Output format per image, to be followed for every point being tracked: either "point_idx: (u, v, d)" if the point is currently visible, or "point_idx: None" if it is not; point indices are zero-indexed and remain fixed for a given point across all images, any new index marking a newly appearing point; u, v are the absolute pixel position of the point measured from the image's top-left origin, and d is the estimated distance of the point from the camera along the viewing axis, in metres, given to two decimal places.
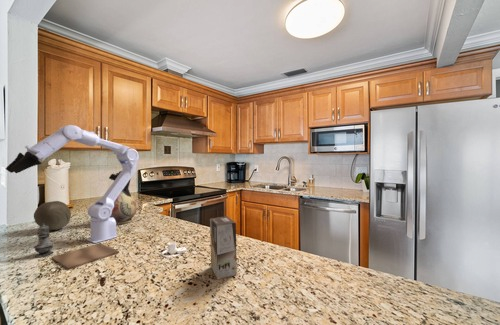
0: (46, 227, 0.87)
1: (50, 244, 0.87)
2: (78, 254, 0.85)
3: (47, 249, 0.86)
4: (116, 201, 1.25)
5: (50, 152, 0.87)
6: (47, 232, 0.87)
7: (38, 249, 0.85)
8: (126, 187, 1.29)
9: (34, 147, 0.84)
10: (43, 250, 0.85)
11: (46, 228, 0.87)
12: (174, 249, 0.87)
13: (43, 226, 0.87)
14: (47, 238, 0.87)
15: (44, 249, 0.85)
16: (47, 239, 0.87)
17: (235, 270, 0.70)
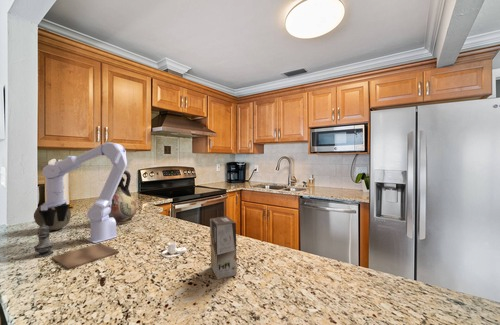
0: (46, 227, 0.87)
1: (50, 244, 0.87)
2: (78, 254, 0.85)
3: (47, 249, 0.86)
4: (116, 201, 1.25)
5: (56, 196, 0.98)
6: (47, 232, 0.87)
7: (38, 249, 0.85)
8: (126, 187, 1.29)
9: (46, 201, 0.97)
10: (43, 250, 0.85)
11: (46, 228, 0.87)
12: (174, 249, 0.86)
13: (43, 226, 0.87)
14: (47, 238, 0.87)
15: (44, 249, 0.85)
16: (47, 239, 0.87)
17: (235, 270, 0.70)
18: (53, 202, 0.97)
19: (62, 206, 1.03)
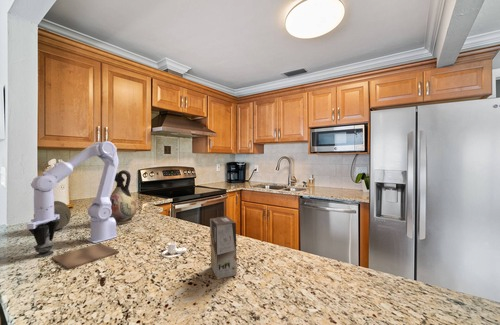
0: None
1: (50, 244, 0.87)
2: (78, 254, 0.85)
3: (47, 249, 0.86)
4: (116, 201, 1.25)
5: (46, 211, 0.86)
6: (47, 232, 0.87)
7: (38, 249, 0.85)
8: (126, 187, 1.29)
9: (34, 217, 0.85)
10: (43, 250, 0.85)
11: None
12: (174, 249, 0.86)
13: None
14: (47, 238, 0.87)
15: (44, 249, 0.85)
16: (48, 239, 0.87)
17: (235, 270, 0.70)
18: (42, 219, 0.85)
19: (50, 223, 0.90)
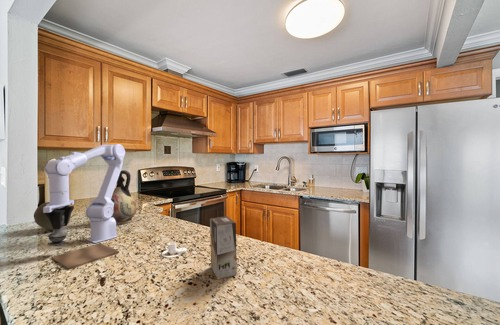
0: None
1: (64, 234, 0.87)
2: (78, 254, 0.85)
3: (60, 239, 0.86)
4: (116, 201, 1.25)
5: (61, 196, 0.85)
6: (62, 221, 0.87)
7: (52, 238, 0.84)
8: (126, 187, 1.29)
9: None
10: (57, 239, 0.85)
11: (62, 217, 0.86)
12: (174, 249, 0.86)
13: None
14: (62, 228, 0.87)
15: (58, 238, 0.85)
16: (62, 229, 0.87)
17: (235, 270, 0.70)
18: (57, 203, 0.84)
19: (65, 208, 0.89)
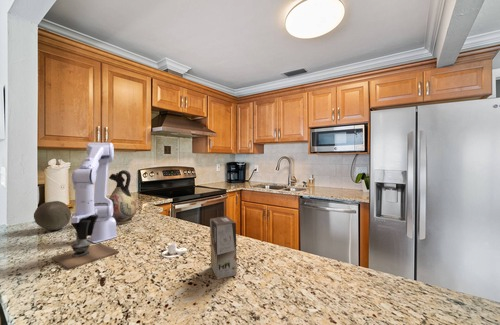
0: None
1: (87, 244, 0.85)
2: None
3: (84, 249, 0.84)
4: (116, 201, 1.25)
5: (87, 205, 0.84)
6: None
7: (76, 248, 0.83)
8: (126, 187, 1.29)
9: None
10: (81, 250, 0.83)
11: None
12: (174, 249, 0.86)
13: None
14: None
15: (82, 249, 0.83)
16: None
17: (235, 270, 0.70)
18: (84, 213, 0.83)
19: (89, 218, 0.88)
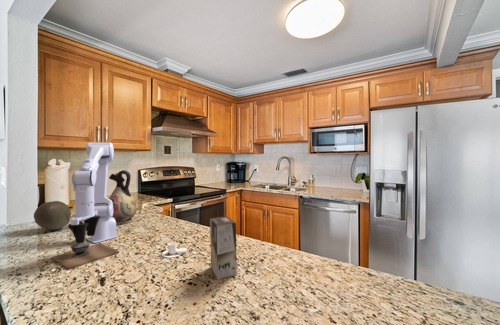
0: None
1: (86, 244, 0.85)
2: None
3: (84, 249, 0.84)
4: (116, 201, 1.25)
5: (87, 207, 0.84)
6: None
7: (75, 249, 0.83)
8: (126, 187, 1.29)
9: None
10: (80, 250, 0.83)
11: None
12: (174, 249, 0.86)
13: None
14: None
15: (81, 249, 0.83)
16: None
17: (235, 270, 0.70)
18: (84, 214, 0.83)
19: (92, 218, 0.89)
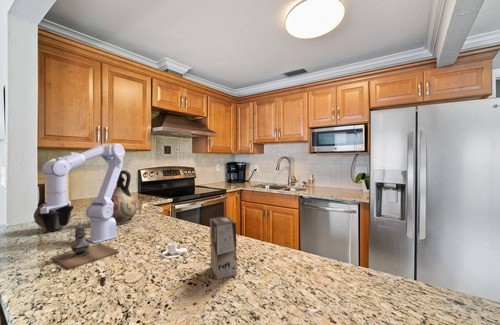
0: (82, 226, 0.85)
1: (86, 244, 0.85)
2: None
3: (84, 249, 0.84)
4: (116, 201, 1.25)
5: (58, 196, 0.85)
6: (83, 231, 0.85)
7: (75, 249, 0.83)
8: (126, 187, 1.29)
9: None
10: (80, 250, 0.83)
11: (82, 227, 0.85)
12: (174, 250, 0.86)
13: (79, 225, 0.85)
14: (83, 238, 0.85)
15: (81, 249, 0.83)
16: (84, 239, 0.85)
17: (235, 270, 0.70)
18: (54, 204, 0.84)
19: (64, 208, 0.90)
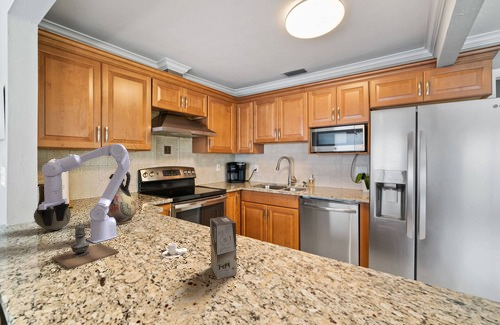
0: (82, 226, 0.85)
1: (86, 244, 0.85)
2: None
3: (84, 249, 0.84)
4: (116, 201, 1.25)
5: (55, 195, 0.94)
6: (83, 231, 0.85)
7: (75, 249, 0.83)
8: (126, 187, 1.29)
9: None
10: (80, 250, 0.83)
11: (82, 227, 0.85)
12: (175, 250, 0.86)
13: (79, 225, 0.85)
14: (83, 238, 0.85)
15: (81, 249, 0.83)
16: (84, 239, 0.85)
17: (235, 270, 0.70)
18: (52, 201, 0.94)
19: (61, 205, 1.00)
